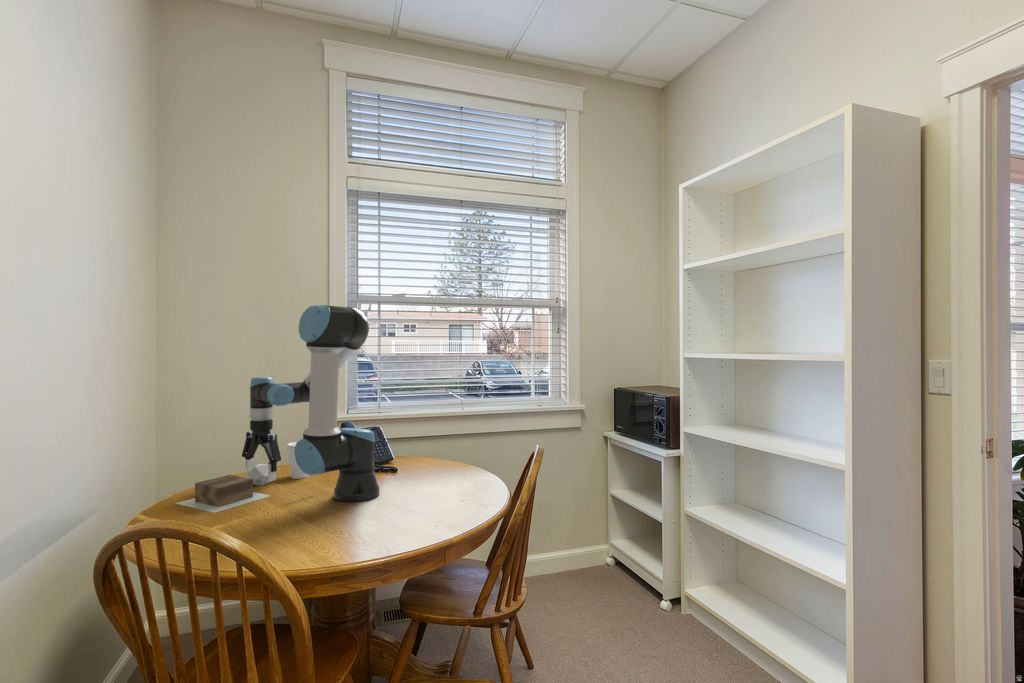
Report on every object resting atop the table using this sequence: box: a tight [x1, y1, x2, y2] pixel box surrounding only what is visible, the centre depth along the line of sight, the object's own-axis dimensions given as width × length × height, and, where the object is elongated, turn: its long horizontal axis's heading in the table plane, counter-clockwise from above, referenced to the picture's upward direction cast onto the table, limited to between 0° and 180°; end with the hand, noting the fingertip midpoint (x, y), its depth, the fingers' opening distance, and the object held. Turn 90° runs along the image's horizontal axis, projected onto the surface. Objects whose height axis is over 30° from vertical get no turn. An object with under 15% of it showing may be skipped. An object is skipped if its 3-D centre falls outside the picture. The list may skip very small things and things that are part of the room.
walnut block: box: [194, 474, 254, 507], centre depth 172 cm, size 12×12×6 cm
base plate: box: [174, 491, 271, 514], centre depth 172 cm, size 20×20×1 cm
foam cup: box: [287, 441, 310, 480], centre depth 205 cm, size 10×9×13 cm
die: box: [248, 463, 270, 486], centre depth 192 cm, size 8×9×10 cm
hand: (261, 478), depth 192 cm, fingers open, 11 cm apart
